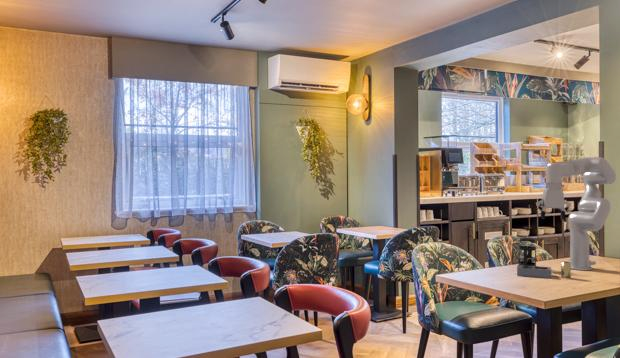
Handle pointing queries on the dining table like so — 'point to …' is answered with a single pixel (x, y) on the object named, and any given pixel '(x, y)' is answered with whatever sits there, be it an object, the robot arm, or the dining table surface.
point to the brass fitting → (565, 269)
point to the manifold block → (534, 271)
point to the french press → (527, 251)
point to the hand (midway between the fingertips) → (552, 219)
